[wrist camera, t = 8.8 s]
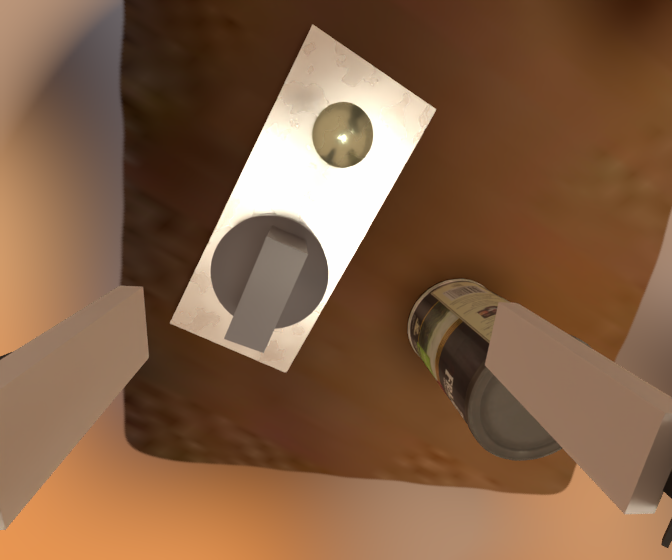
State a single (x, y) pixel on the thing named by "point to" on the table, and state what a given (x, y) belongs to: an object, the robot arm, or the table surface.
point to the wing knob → (268, 277)
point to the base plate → (314, 176)
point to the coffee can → (474, 368)
